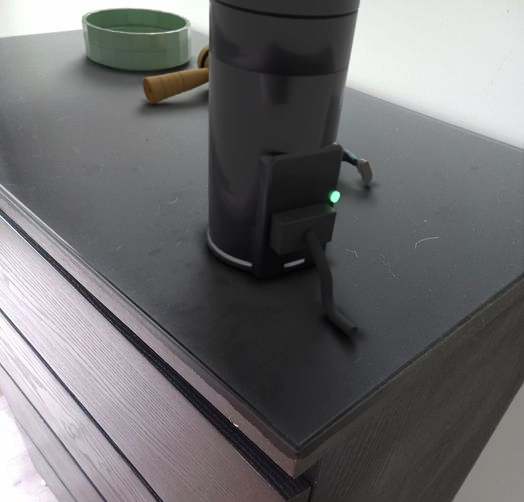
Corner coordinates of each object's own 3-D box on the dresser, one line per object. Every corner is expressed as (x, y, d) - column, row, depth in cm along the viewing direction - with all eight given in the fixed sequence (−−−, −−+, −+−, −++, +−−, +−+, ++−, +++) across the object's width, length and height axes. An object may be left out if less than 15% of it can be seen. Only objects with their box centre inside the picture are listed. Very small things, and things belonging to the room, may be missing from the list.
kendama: (168, 126, 64) (288, 87, 70) (154, 69, 60) (283, 33, 67) (144, 116, 70) (257, 81, 76) (129, 63, 66) (250, 30, 72)
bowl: (207, 69, 78) (208, 30, 74) (106, 78, 72) (101, 36, 68) (167, 41, 87) (165, 6, 84) (74, 47, 81) (68, 9, 77)
